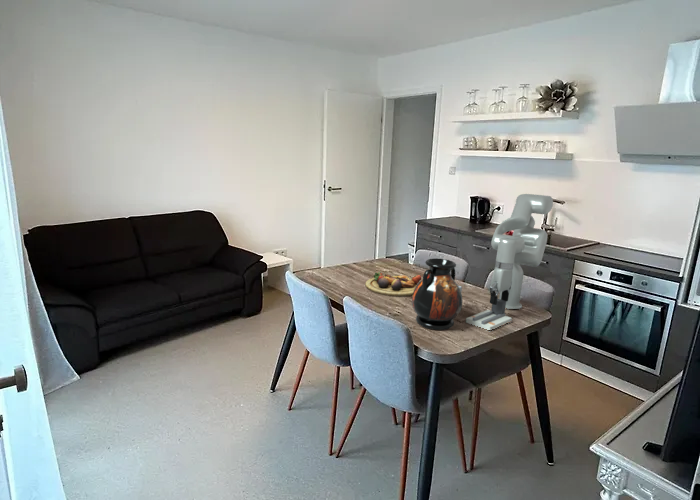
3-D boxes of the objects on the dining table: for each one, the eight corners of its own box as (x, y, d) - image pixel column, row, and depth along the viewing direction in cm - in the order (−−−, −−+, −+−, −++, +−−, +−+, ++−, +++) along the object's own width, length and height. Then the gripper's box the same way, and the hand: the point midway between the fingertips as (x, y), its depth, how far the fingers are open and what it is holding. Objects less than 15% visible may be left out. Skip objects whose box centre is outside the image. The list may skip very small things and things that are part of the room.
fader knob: (494, 311, 199) (496, 298, 198) (504, 315, 195) (506, 301, 194) (490, 313, 197) (492, 299, 196) (500, 316, 194) (502, 302, 192)
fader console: (487, 313, 202) (488, 307, 202) (511, 322, 194) (512, 315, 193) (465, 322, 191) (466, 315, 190) (489, 331, 182) (490, 324, 181)
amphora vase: (433, 310, 202) (438, 253, 196) (470, 327, 186) (477, 264, 179) (399, 319, 190) (404, 258, 183) (436, 338, 173) (443, 271, 167)
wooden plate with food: (422, 281, 249) (422, 267, 247) (425, 299, 218) (427, 283, 216) (367, 278, 252) (367, 264, 250) (363, 295, 221) (363, 280, 219)
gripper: (506, 261, 199) (501, 297, 203) (486, 265, 188) (481, 303, 191) (521, 265, 194) (516, 301, 197) (501, 269, 182) (496, 308, 186)
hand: (498, 302), depth 194 cm, fingers open, 9 cm apart
